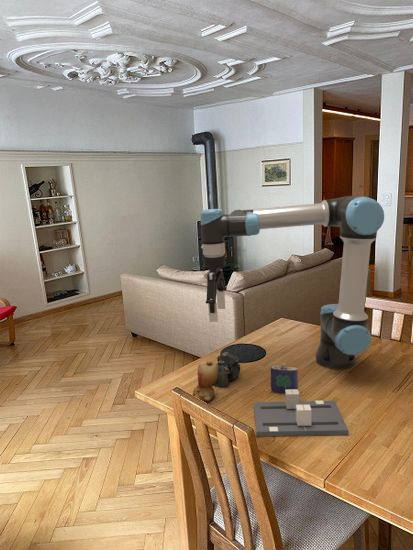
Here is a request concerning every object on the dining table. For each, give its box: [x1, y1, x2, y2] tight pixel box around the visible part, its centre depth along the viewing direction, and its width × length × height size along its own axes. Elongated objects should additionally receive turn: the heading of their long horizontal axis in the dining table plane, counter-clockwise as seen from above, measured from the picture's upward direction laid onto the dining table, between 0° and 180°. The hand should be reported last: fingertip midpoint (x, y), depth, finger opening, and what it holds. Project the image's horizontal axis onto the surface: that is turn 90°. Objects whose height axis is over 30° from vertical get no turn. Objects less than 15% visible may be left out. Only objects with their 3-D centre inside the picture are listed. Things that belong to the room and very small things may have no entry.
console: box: [253, 400, 349, 437], centre depth 125 cm, size 26×16×2 cm, turn 87°
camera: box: [213, 351, 241, 389], centre depth 152 cm, size 13×10×10 cm
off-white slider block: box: [284, 388, 300, 409], centre depth 129 cm, size 4×3×5 cm
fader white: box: [296, 404, 311, 426], centre depth 120 cm, size 4×3×5 cm
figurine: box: [192, 359, 218, 403], centre depth 140 cm, size 10×8×15 cm
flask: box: [270, 362, 299, 395], centre depth 141 cm, size 9×3×11 cm, turn 74°
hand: (217, 314), depth 144 cm, fingers open, 13 cm apart
